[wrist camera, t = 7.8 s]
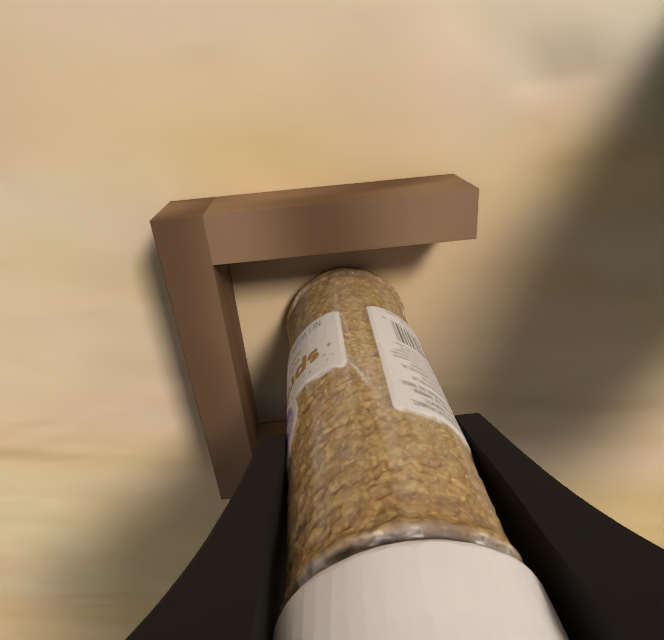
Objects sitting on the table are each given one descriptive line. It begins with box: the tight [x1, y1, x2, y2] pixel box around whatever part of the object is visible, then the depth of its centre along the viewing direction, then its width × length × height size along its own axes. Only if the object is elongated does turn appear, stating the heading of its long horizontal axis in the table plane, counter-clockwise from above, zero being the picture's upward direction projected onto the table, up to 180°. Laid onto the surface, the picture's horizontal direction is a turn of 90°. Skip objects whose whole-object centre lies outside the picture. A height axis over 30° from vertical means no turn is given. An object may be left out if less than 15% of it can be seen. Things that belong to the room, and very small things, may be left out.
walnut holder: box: [150, 174, 479, 499], centre depth 17 cm, size 10×11×2 cm
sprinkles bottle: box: [273, 268, 569, 640], centre depth 12 cm, size 5×5×14 cm
